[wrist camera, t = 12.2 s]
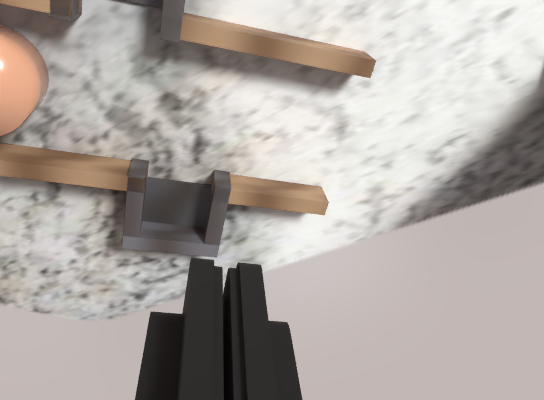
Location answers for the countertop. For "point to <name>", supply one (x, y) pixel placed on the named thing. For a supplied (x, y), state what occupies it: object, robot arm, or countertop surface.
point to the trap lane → (176, 194)
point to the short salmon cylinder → (19, 79)
